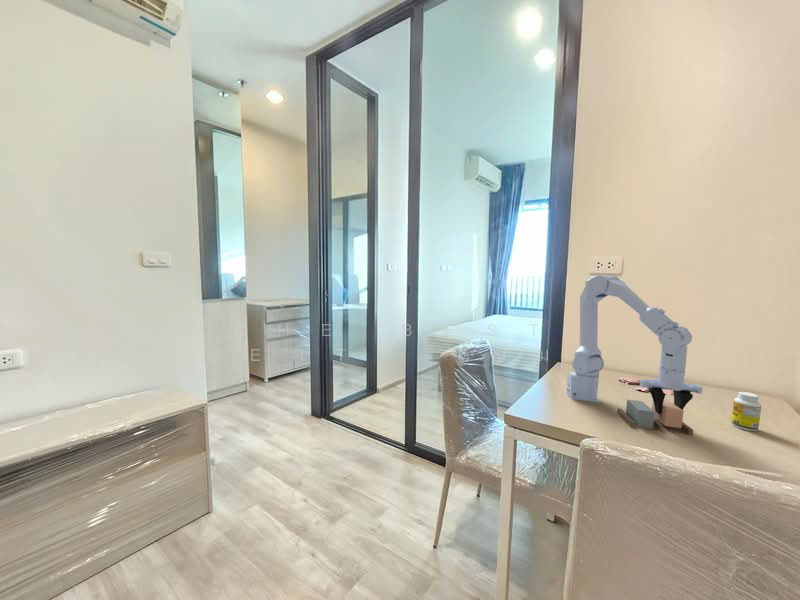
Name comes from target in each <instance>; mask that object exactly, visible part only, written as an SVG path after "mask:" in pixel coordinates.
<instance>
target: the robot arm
mask: <svg viewBox="0 0 800 600" xmlns="http://www.w3.org/2000/svg"><path fill="white" fill-rule="evenodd" d="M584 286H585V287H584V289H583V291H582V292H581V294H580V295H579V296H580V298H579V347H578V348H577V349H576V351H574V358H573V360H572V364H571V365H572V369H573V370H574V371H573V372H572V371H570V372H568V374H567V381H566V391H565V393H566V394H567V395H568V396H569V398H570V399H571V400H577V401H586V402H593V403H602V400H600V399H599V398H598V390H599V379H600V371H602V370H603V368H604V366H605V363H604V362H605V361H604V360H603V358H602V351H601V350H600V348H598V326H599V325H598V324H599V323H598V321H599V320H598V314H599V313H598V311H599V310H598V309H599V307H598V306H599V303H600V301H602V300H603V299H604V298H606V297H608V296H611V297H616V298H619V299H620V300H621V301H623V302H624V303H625V304H626V305H627V306H629V307H630V308H631V309H632V310H634V312H636V313H637V314H638V315H639V321H640V322H641V323H642V324H643V325H645V326H646V327H647V328H648V329H649V330H650V332H652V333H653V334H654V335H655V336H656V337H657V339H658V342H659V343H660V345H661V348H660V349H661V351H660V358H659V370H658V377H657V378H658V379H639V380H640V384H639V386H640V388H648V389H649V391H648V392H650V395H651V397H652V402H653V401H654V405H655V411H656V412H657V413H658V414H661V413H662V408H663V401H664V400H665V398H666V396H667V394H665V393H664V392H663V390H662V389H666V390H673V392H674V394H673V404H674V405H676V406H677V407H679V408H680V409H682V410H683V411H684V408H685V407H686V405H687V404H688V403H689V402H690V401H691V400H692V399H693V397H694V395H693V394H692V393H694V394H695V393H696V394H699V395H700V394H701V395H702V394H703V387H702V386H701V385H698V384H691V383H686V382H685V374H686V366H687V356H688V345H689V344H690V343H691V342H692V340H693V336H692V333H691V332H690V331H689V330H688V328H687V327H684V326H679V325H680V324H679V323H678V322H677V321H673V320H672V319H671V318H670V317H668V315H666V314H665V313H666V311H665V310H664V309H662V308H658V307H655V306H653V307H651V306H649V305H648V304H647V303H646V302H645V301H644V300H643V299H642V298H641V297H639V296H638V294H636V293H635V292H634V291H633V290H632V289H631V288H630V287H629V286H628V285H627V284H626V282H625V281H623V280H621V279H620V277H618V276H616V275H612V274H610V275H601V274H595V275H593V276H591V277H590V278H588V279H587V280H586V281H585V284H584Z"/></svg>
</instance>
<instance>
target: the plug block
mask: <svg viewBox="0 0 800 600" xmlns="http://www.w3.org/2000/svg"><path fill="white" fill-rule="evenodd" d="M651 409H652V410H653V411H654V412H655V415H654V417H655V418H656V419H657V420H659V421H660V422H661V423H662V424H663V425H665V426H669V427H677V428H682V422H684V421H683V420H684V409H683V410H682V409H680V408H679V407H677V406H676V405H674V402H671V401H670V400H668V399H664V401H663V408H662V413H661V414H658V413H657V412H656V411H655V405H654V401H653V400H652V407H651Z"/></svg>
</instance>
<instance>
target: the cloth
mask: <svg viewBox="0 0 800 600" xmlns="http://www.w3.org/2000/svg"><path fill="white" fill-rule="evenodd" d="M621 378H622V379H625V380H624V381H623V380H622V379H619V378H618V380H619V381H618V382H622V383H623V382H628V384H627V385H634V384H636V385H640V380H641V379H634V378H629V377H628V378H627V377H621ZM627 379H628V380H627ZM632 380H635V381H632ZM637 390H645V392H647V393H649V392H650V391H649V389H648V388H642V387H635V388H634V391H637ZM662 390H663V392H665V393H668V394H670V395H669V396H672V395H671V394H673V395H674V392H673V390H666V389H662ZM645 392H644V393H645ZM668 394H667V395H668Z"/></svg>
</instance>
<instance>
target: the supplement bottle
mask: <svg viewBox="0 0 800 600" xmlns="http://www.w3.org/2000/svg"><path fill="white" fill-rule="evenodd" d="M761 412H762V403H761V402H759V396H758V394H754V393H752V392H748V391H747V392H745V391H739V392H738V395H737V397H735V398H734V399H733V405H732V415H731V425H732V426H733V427H736V428H738V429H741V430H744V431H747V432H757V431H758V430H759V427H760V420H761Z"/></svg>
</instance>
